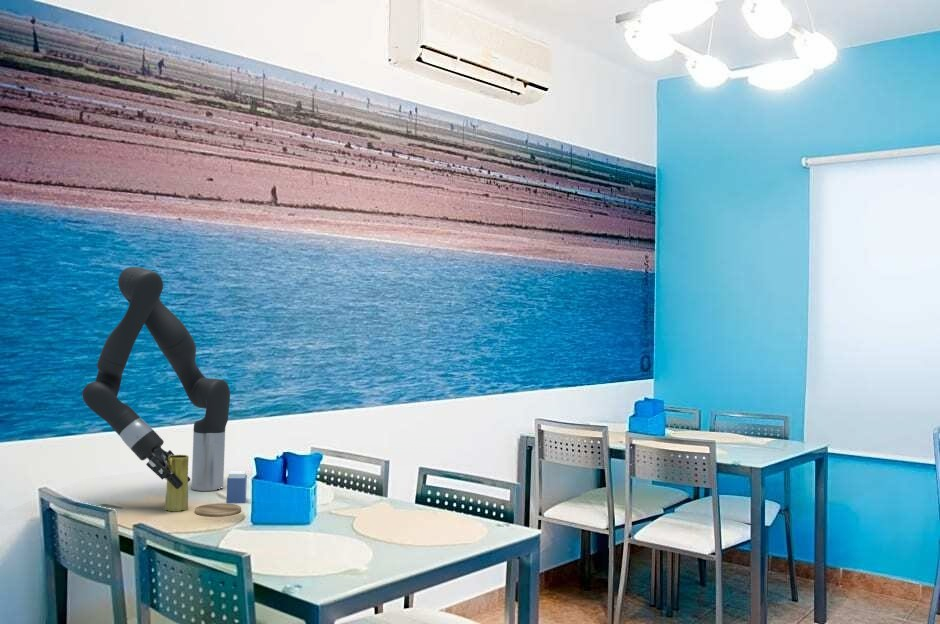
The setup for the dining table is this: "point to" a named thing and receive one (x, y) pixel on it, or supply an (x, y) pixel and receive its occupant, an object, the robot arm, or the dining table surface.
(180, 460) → the vase
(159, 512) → the dining table surface
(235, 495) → the slate blue block
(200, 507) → the disc
